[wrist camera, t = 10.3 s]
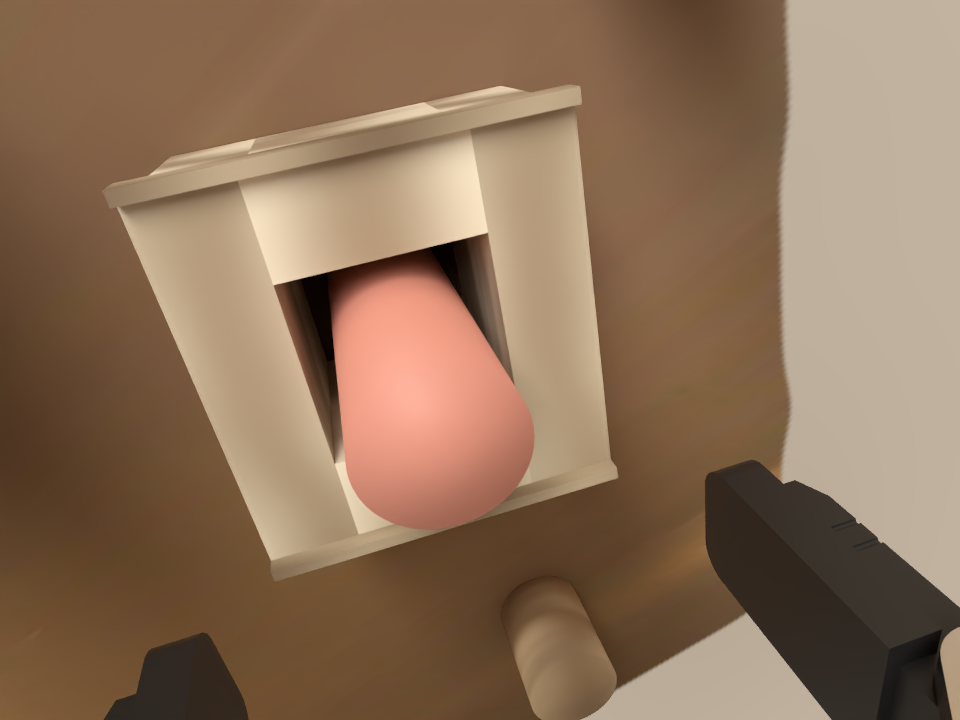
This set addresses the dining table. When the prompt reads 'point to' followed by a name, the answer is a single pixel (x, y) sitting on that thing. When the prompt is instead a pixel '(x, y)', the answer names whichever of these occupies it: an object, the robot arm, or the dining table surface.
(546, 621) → the short dowel
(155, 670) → the robot arm
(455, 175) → the hole block
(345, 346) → the long dowel
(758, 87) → the dining table surface
